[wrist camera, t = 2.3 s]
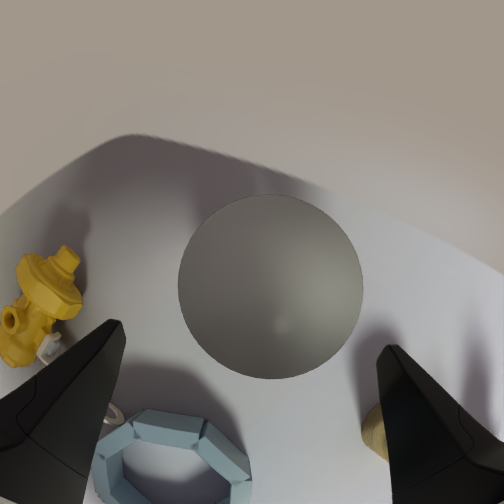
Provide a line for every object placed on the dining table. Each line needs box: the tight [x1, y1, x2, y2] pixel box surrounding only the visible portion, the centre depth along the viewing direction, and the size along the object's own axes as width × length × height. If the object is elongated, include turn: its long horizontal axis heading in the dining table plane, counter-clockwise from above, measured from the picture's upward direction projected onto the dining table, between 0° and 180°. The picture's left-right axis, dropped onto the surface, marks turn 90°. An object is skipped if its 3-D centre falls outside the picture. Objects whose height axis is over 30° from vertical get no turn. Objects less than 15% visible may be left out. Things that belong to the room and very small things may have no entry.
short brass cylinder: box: [362, 403, 389, 463], centre depth 14 cm, size 5×5×5 cm
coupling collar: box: [91, 408, 252, 504], centre depth 13 cm, size 10×10×3 cm
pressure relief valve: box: [0, 245, 124, 426], centre depth 14 cm, size 6×12×10 cm
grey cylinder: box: [178, 195, 363, 379], centre depth 12 cm, size 4×4×12 cm
